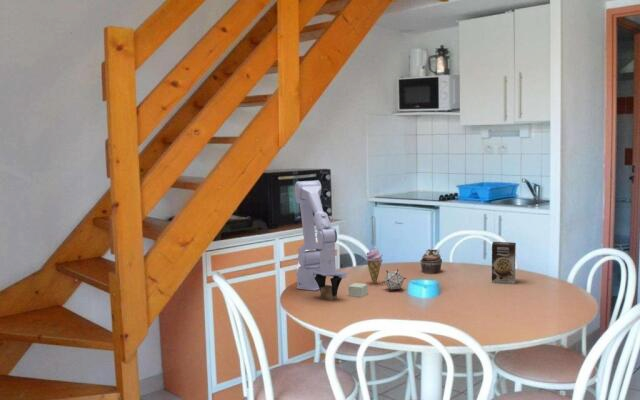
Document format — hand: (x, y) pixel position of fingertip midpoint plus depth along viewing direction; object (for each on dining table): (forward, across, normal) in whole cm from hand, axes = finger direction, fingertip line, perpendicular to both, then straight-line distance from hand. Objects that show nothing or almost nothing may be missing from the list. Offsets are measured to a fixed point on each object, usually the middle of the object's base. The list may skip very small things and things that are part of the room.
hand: (328, 294), depth 221 cm
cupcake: (+2, +21, +56) cm, 60 cm away
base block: (+2, +8, +9) cm, 12 cm away
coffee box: (+2, +54, +50) cm, 74 cm away
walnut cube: (+1, 0, 0) cm, 1 cm away
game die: (+2, +18, +21) cm, 28 cm away
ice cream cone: (+2, +7, +27) cm, 28 cm away
